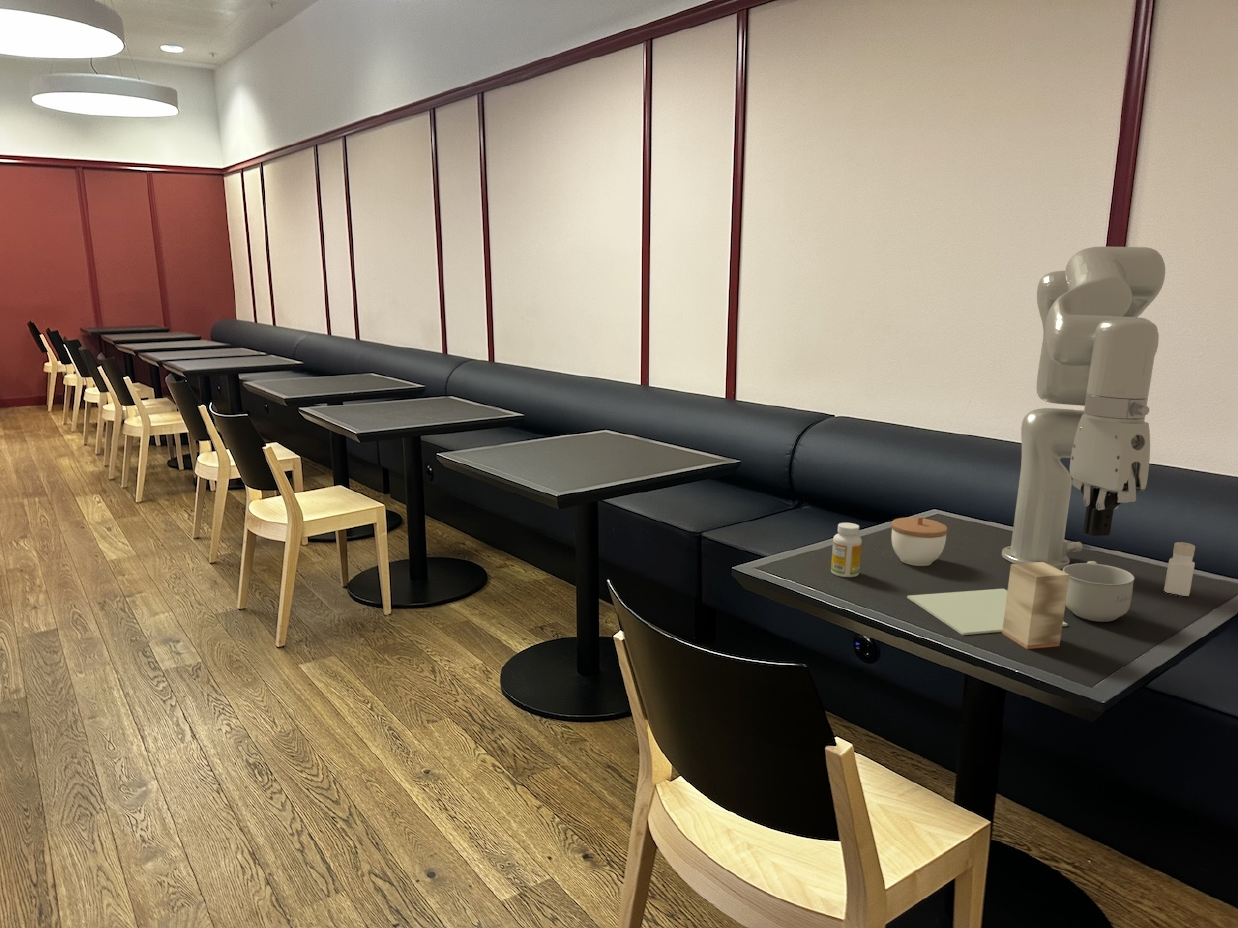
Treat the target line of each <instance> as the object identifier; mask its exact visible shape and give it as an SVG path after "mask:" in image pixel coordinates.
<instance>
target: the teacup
mask: <svg viewBox="0 0 1238 928" xmlns="http://www.w3.org/2000/svg"><path fill="white" fill-rule="evenodd" d="M1062 571H1063V572H1065V573H1067V574H1069V575H1070V577H1069V584H1068V591H1067V597H1066V604H1065V608H1066V607H1067V609H1068V610H1070V611H1071V612H1072V613H1073V614H1074V615H1075V616H1076V617H1079V618H1081V619H1083V620H1087V621H1092V622H1098V623H1099V622H1101V623H1104V622H1106V623H1108V622H1113V621H1115V620H1117V619H1118V618H1120V617H1123V616H1124V615H1125V614H1127V612H1128V611H1129V609H1130V606H1131V602H1132V597H1133V590H1134V582H1135V576H1134V574H1132V573H1131V572H1129V571H1127V570H1125V569H1123V568H1120V567H1116V566H1111V565H1107V564H1100V563H1098V562H1096V561H1094V560H1090V561H1089V560H1088V561H1087V562H1083V563H1082V562H1080V563H1072V564H1069V565H1068V566H1066V567H1064V568H1063V569H1062Z"/></svg>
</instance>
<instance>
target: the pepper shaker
mask: <svg viewBox="0 0 1238 928" xmlns="http://www.w3.org/2000/svg"><path fill="white" fill-rule="evenodd" d="M1173 546H1174V547H1173V550H1172V551H1173V552H1172V553H1173V555H1172V557H1171V558H1169V560H1168V565H1167V571H1166V576H1165V581H1164V587H1163V591H1165V592H1167V593H1172V594H1178V595H1182V596H1188V597H1189V596H1190V593H1191V587H1192V581H1193V576H1194V571H1195V564H1196V563H1195V562H1194V561H1193V559H1194V556H1195V550H1196V546H1195V545H1194V544H1192V543H1189V542H1183V541H1181V542H1179V541H1177V542H1175V543H1174V545H1173ZM1165 592H1164V593H1165ZM1167 593H1166V594H1167ZM1172 594H1171V595H1172ZM1182 596H1181V597H1182Z"/></svg>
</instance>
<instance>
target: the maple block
mask: <svg viewBox="0 0 1238 928" xmlns="http://www.w3.org/2000/svg"><path fill="white" fill-rule="evenodd" d="M1008 577H1009V578H1008V585H1007V599H1006V606H1005V614H1004V621H1003V629H1002V632H1001V634H1002V635H1004V636H1005V637H1007V638H1008V639H1010V640H1012V641H1013V642H1015V643H1017V644H1018V645H1019V646H1021V647H1023V648H1025V649H1026V650H1030V649H1042V648H1051V647H1052V648H1053V647H1060V643H1061V638H1062V630H1063V626H1062V624H1063V622H1064V617H1065V616H1064V615H1065V610H1066V605H1065V604H1066V597H1067V591H1068V584H1069V577H1070V575H1069V574H1067V573H1065V572H1063V570H1062V569H1057V568H1055V567H1053V566H1051V565H1048V564H1046V563H1044V562H1035V563H1020V564H1014V563H1011V564H1010V568H1009V576H1008Z"/></svg>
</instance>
